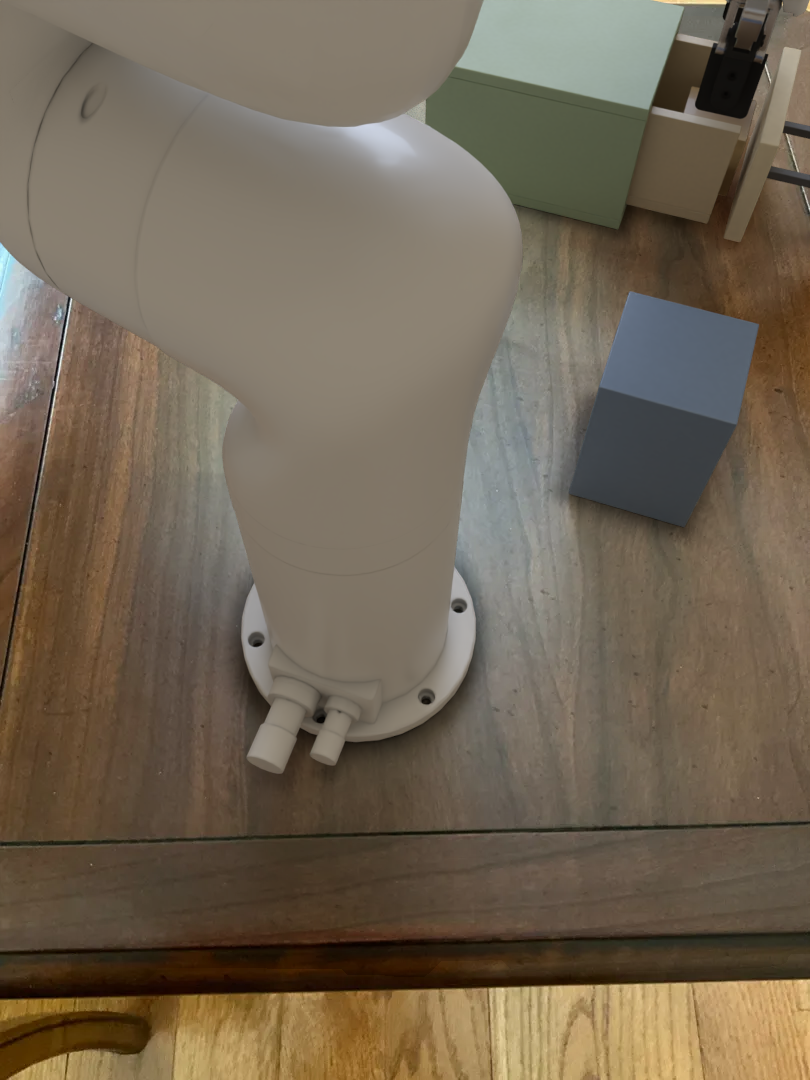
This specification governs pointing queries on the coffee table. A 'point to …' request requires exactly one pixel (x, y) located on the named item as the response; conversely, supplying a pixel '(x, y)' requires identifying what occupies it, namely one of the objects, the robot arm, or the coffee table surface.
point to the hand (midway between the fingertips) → (733, 65)
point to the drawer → (710, 143)
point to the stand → (664, 408)
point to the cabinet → (559, 99)
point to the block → (744, 122)
